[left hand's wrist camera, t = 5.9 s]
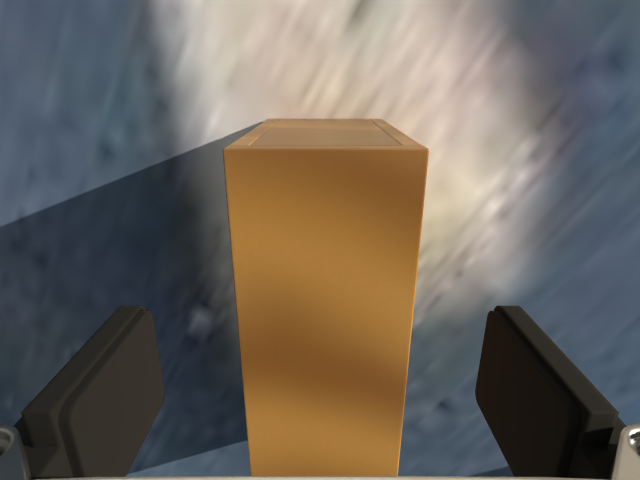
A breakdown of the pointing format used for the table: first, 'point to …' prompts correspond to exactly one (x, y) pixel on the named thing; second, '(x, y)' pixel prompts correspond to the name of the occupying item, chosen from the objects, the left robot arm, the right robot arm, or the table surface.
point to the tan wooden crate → (325, 290)
